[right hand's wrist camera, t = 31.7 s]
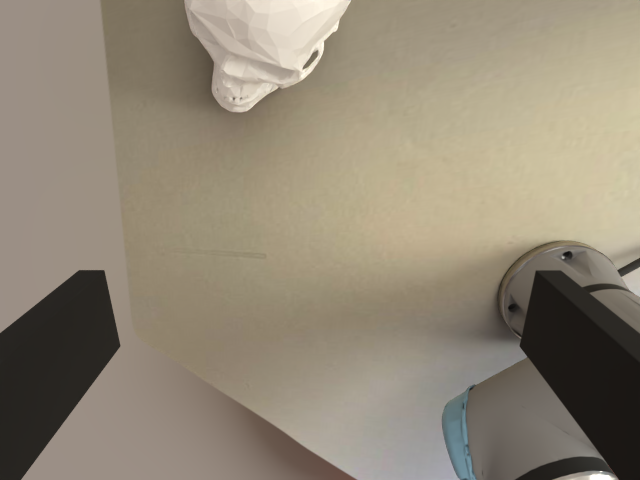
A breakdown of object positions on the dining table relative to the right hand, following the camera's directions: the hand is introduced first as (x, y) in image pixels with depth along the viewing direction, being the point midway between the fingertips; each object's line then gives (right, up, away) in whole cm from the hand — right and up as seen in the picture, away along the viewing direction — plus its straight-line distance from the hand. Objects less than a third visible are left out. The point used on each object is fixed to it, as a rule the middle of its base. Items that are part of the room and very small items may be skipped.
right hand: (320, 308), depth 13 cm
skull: (-5, +26, +32) cm, 42 cm away
